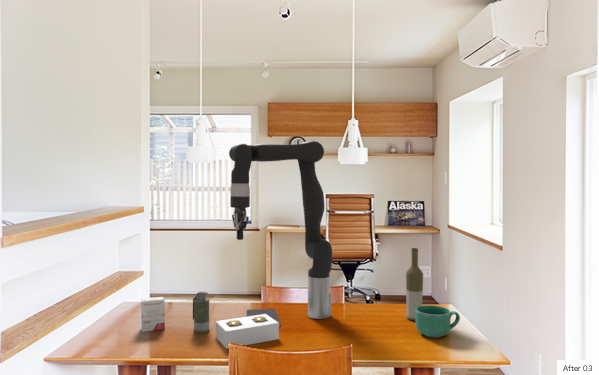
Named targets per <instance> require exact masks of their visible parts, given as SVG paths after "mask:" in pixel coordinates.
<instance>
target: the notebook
mask: <svg viewBox="0 0 599 375" xmlns="http://www.w3.org/2000/svg"><path fill="white" fill-rule="evenodd" d="M261 314H267V315H268V316H270V317H271V318H272V319H274V320H275V321H277V322H278V323H279V327H281V322H280V318H279V316H278V312H277V310H276V308H265V309H264V308H262V309H261V308H259V309H258V308H257V309H254V308H253V309H246V317H248V316H255V315H261Z"/></svg>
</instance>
